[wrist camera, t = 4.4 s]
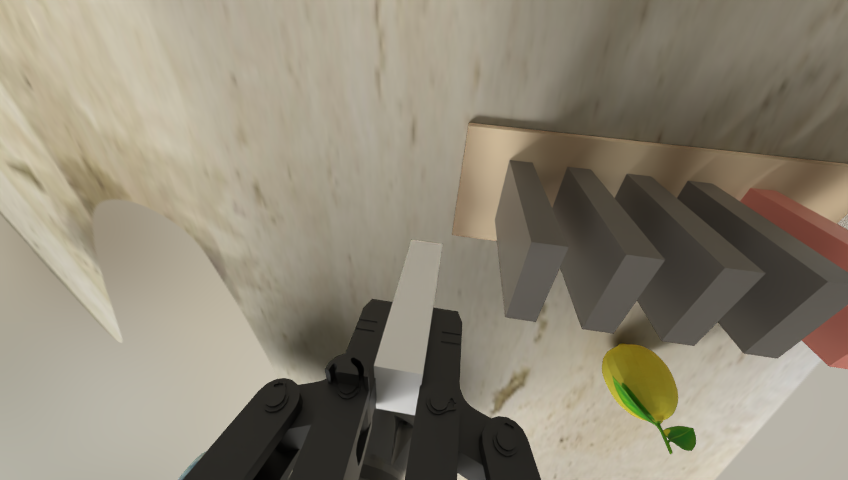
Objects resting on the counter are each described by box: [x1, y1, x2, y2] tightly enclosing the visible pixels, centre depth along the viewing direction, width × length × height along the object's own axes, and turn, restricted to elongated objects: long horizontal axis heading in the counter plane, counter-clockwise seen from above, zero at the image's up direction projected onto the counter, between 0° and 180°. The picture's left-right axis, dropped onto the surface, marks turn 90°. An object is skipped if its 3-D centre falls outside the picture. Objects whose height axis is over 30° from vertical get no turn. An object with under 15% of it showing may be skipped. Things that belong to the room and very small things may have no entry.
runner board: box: [452, 123, 848, 241], centre depth 22 cm, size 26×9×1 cm, turn 86°
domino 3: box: [615, 174, 766, 346], centre depth 18 cm, size 2×5×10 cm, turn 176°
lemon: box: [602, 343, 696, 454], centre depth 28 cm, size 7×6×10 cm
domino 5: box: [740, 188, 848, 369], centre depth 17 cm, size 2×5×10 cm, turn 176°
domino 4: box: [677, 181, 848, 358], centre depth 18 cm, size 2×5×10 cm, turn 176°
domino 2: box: [552, 167, 665, 334], centre depth 18 cm, size 2×5×10 cm, turn 176°
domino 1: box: [495, 160, 569, 322], centre depth 19 cm, size 2×5×10 cm, turn 176°
